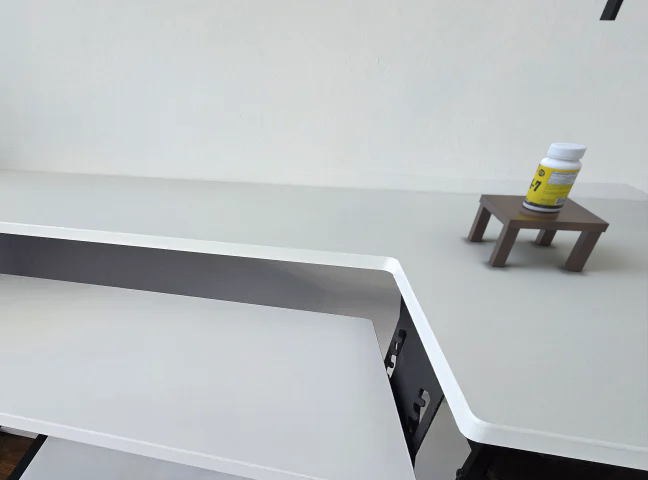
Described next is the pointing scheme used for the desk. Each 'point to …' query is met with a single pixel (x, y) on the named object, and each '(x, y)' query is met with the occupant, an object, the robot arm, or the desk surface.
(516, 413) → the desk surface
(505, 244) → the small wooden table
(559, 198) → the supplement bottle
